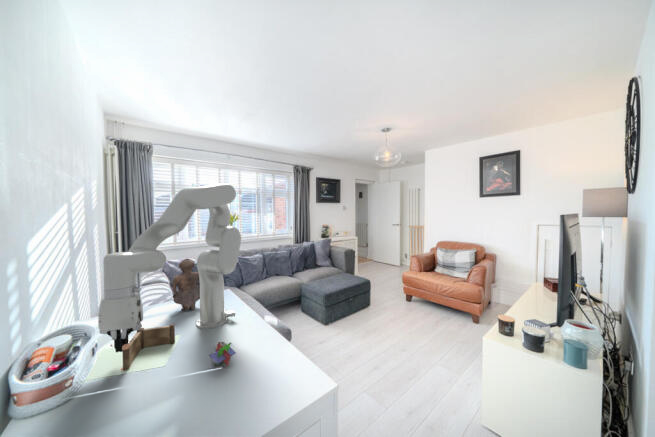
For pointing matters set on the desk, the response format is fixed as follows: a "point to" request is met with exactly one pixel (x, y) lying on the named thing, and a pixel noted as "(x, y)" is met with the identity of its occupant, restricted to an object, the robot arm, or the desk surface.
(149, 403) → the desk surface
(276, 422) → the desk surface
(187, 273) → the clay figurine
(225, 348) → the geometric puzzle
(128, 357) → the panel
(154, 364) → the card
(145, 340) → the fence fixed section
